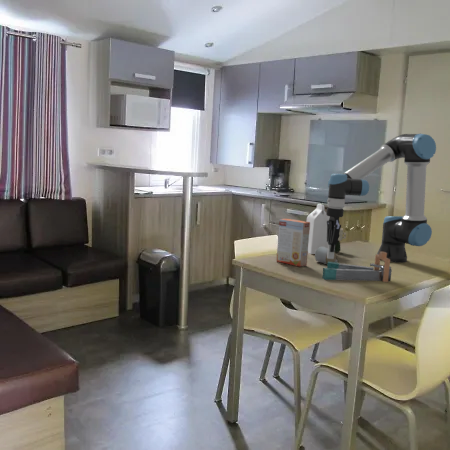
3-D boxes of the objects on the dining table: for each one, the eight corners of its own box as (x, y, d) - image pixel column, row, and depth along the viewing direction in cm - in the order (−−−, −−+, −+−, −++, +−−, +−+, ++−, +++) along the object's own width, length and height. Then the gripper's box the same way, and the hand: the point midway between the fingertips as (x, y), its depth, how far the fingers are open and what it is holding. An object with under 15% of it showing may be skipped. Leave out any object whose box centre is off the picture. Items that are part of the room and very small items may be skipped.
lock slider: (377, 276, 230) (380, 250, 229) (387, 282, 220) (390, 254, 218) (373, 275, 230) (376, 249, 228) (383, 281, 220) (386, 254, 218)
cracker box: (307, 265, 244) (311, 221, 241) (299, 267, 240) (303, 222, 237) (283, 260, 253) (286, 217, 250) (275, 261, 249) (279, 218, 246)
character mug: (322, 251, 283) (324, 227, 281) (326, 249, 289) (328, 226, 287) (342, 254, 278) (344, 230, 276) (346, 252, 284) (348, 228, 282)
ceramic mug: (325, 265, 246) (327, 250, 245) (313, 262, 253) (315, 246, 252) (341, 264, 252) (343, 249, 251) (329, 261, 259) (330, 246, 258)
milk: (331, 254, 274) (335, 206, 271) (310, 254, 272) (314, 205, 268) (322, 250, 286) (326, 203, 282) (302, 249, 284) (306, 202, 280)
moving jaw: (389, 278, 228) (391, 264, 227) (389, 281, 221) (391, 267, 220) (327, 270, 235) (328, 256, 234) (325, 273, 229) (326, 259, 228)
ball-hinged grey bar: (387, 278, 227) (388, 267, 226) (392, 281, 222) (393, 270, 221) (321, 277, 222) (322, 265, 222) (325, 280, 218) (326, 268, 217)
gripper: (323, 205, 242) (318, 255, 245) (332, 208, 229) (327, 261, 232) (338, 206, 243) (333, 255, 246) (348, 209, 230) (343, 261, 233)
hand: (330, 258), depth 239 cm, fingers closed
